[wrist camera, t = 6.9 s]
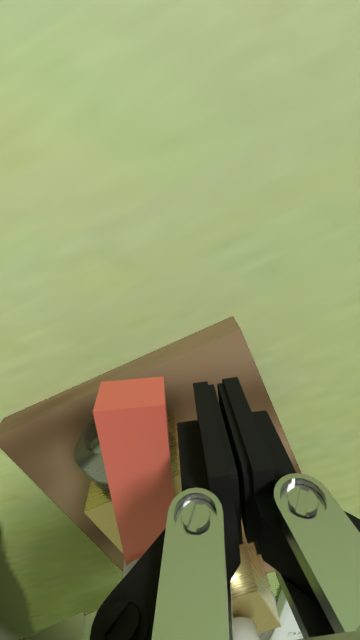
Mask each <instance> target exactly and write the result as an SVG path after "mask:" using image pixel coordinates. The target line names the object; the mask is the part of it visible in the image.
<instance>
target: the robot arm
mask: <svg viewBox="0 0 360 640" xmlns="http://www.w3.org/2000/svg"><path fill="white" fill-rule="evenodd" d="M193 389H194V397H195V404H196V412H197V419H198V420H193V421H186V422H179V423H177V431H178V445H179V459H180V473H181V487H182V492H181V493H179V494H178V495H177V496H176V497H175V498H174V499H173V501H172V502H171V504H170V507H169V510H168V515H167V523H166V528H165V529H164V531H163V532H162V533H161V534H160V535H159V536H158V538H157V539H156V540H155V541H154V542H153V544H152V545H151V546H150V547H149V548H148V550H147V551H146V552H145V553H144V554H143V556H142V557H141V558H140V559H139V560H138V561H137V563H136V564H135V565H134V566H133V567H132V569H131V570H130V571H129V572H128V573H127V575H126V576H125V577H124V578H123V579H122V581H121V582H120V583H119V584H118V585H117V586H116V588H115V589H114V590H113V591H112V592H111V594H110V595H109V596H108V597H107V598H106V600H105V601H104V602H103V604H102V605H101V607H100V608H99V610H97V611H94V612H92V613H90V614H88V615H85V614H84V612H82V613H79V614H77V615H75V616H73V617H70V618H68V619H66V620H63V621H61V622H59V623H56V624H54V625H52V626H50V627H47V628H45V629H43V630H40V631H38V632H36V633H33V634H31V635H29V636H27V637H24V638H22V639H20V640H234V636H233V616H232V597H231V579H232V577H233V576H234V574H235V572H236V570H237V569H238V567H239V565H240V564H241V559H240V547H239V545H240V544H243V538H242V524H243V528H244V533H245V537H246V540H247V543H253V542H254V545H255V549H256V553H257V555H260V554H261V556H262V559H263V561H265V562H266V563H267V564H269V565H270V566H271V567H273V568H274V569H275V572H276V576H277V579H278V581H279V583H280V586H281V588H282V590H283V592H284V595H285V597H286V599H287V602H288V604H289V606H290V608H291V611H292V613H293V615H294V618H295V620H296V622H297V624H298V627H299V629H300V631H301V634H302V636H303V638H304V639H297V640H360V519H358V518H356V517H354V516H353V515H351V514H349V513H347V512H345V511H343V509H342V508H341V507H340V505H339V504H338V503H337V501H336V500H335V499H334V497H333V496H332V495H331V493H330V492H329V490H328V489H327V488H326V487H325V486H324V485H323V484H322V483H321V482H319V481H318V480H316V479H315V478H313V477H311V476H308V475H305V474H298V473H296V471H295V469H294V467H293V465H292V462H291V460H290V458H289V456H288V454H287V452H286V450H285V448H284V446H283V444H282V442H281V439H280V437H279V435H278V433H277V431H276V429H275V427H274V425H273V423H272V421H271V419H270V416H269V414H268V413H267V411H266V410H263V411H256V412H252V411H251V409H250V406H249V404H248V401H247V399H246V397H245V394H244V392H243V389H242V387H241V384H240V382H239V379H238V377H232V378H225V379H222V383H219V384H217V389H218V398H217V395H216V391H215V387H214V384H212V385H208V382H207V381H204V382H197V383H193ZM218 399H219V402H218ZM241 520H242V524H241Z"/></svg>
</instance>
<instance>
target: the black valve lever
mask: <svg viewBox="0 0 360 640" xmlns="http://www.w3.org/2000/svg"><path fill="white" fill-rule="evenodd" d="M233 636H234V640H260V639H259V635H258V630H257V626H256V623H255V621H253V620H252V619H249V618H245V617H236V618H233Z"/></svg>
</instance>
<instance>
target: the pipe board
mask: <svg viewBox="0 0 360 640" xmlns="http://www.w3.org/2000/svg"><path fill="white" fill-rule="evenodd" d="M162 376H164V386H165V397H166V408H167V412H168V411H171V410H173V409H174V411H175V412H176V414H177V416H178V417H179V419H180V421H181V422H186V421H193V420H198V419H197V412H196V404H195V397H194V389H193V383H197V382H204V381H207V382H208V385H212V384H214V387H215V391H216V395H217V398H218V389H217V384H219V383H222V379H225V378H232V377H238V379H239V382H240V384H241V387H242V389H243V392H244V394H245V397H246V399H247V401H248V404H249V406H250V409H251V411H252V412H256V411H263V410H266V411H267V413H268V414H269V416H270V419H271V421H272V423H273V425H274V427H275V429H276V431H277V433H278V435H279V437H280V439H281V442H282V444H283V446H284V448H285V450H286V452H287V454H288V456H289V458H290V460H291V462H292V465H293V467H294V469H295V471H296V473H298V474H301V471H300V469H299V466H298V464H297V462H296V459H295V457H294V455H293V452H292V450H291V448H290V445H289V443H288V440H287V438H286V436H285V433H284V431H283V429H282V426H281V424H280V421H279V419H278V417H277V414H276V412H275V410H274V407H273V405H272V403H271V400H270V398H269V395H268V393H267V391H266V388H265V386H264V384H263V381H262V379H261V376H260V374H259V372H258V369H257V367H256V365H255V362H254V360H253V358H252V355H251V353H250V350H249V348H248V346H247V343H246V341H245V339H244V336H243V334H242V331H241V329H240V327H239V326H238V324H237V322H236V321H235V319H234V317H233V316H232V317H230V318H228V319H226V320H223V321H221V322H219V323H217V324H214V325H212V326H210V327H208V328H205V329H203V330H201V331H199V332H196V333H194V334H192V335H190V336H187V337H185V338H183V339H181V340H179V341H176V342H174V343H172V344H170V345H167V346H165V347H163V348H161V349H158V350H156V351H154V352H152V353H149V354H147V355H145V356H143V357H140V358H138V359H136V360H134V361H131V362H129V363H127V364H125V365H122V366H120V367H118V368H116V369H113V370H111V371H109V372H107V373H104V374H102V375H100V376H98V377H95V378H93V379H91V380H89V381H87V382H84V383H82V384H80V385H78V386H75V387H73V388H71V389H69V390H66V391H64V392H62V393H60V394H57V395H55V396H53V397H51V398H48V399H46V400H44V401H42V402H39V403H37V404H35V405H33V406H30V407H28V408H26V409H24V410H21V411H19V412H17V413H15V414H12V415H10V416H8V417H6V418H4V419H3V420H2V422H1V423H0V448H1V449H2V450H3V451H4V452H5V453H6V454H7V455H8V456H9V457H10V458H11V459H12V460H13V461H14V462H15V463H16V464H17V465H18V466H19V467H20V468H21V469H22V470H23V471H24V472H25V473H26V474H27V475H28V476H29V477H30V478H31V479H32V480H33V481H34V482H35V483H36V484H37V485H38V486H39V487H40V488H41V489H42V490H43V492H44V493H45V494H46V495H47V496H48V497H49V498H50V499H51V500H52V501H53V502H54V503H55V504H56V505H57V506H58V507H59V508H60V509H61V510H62V511H63V512H64V513H65V514H66V515H67V516H68V517H69V518H70V519H71V520H72V521H73V522H74V523H75V524H76V525H77V526H78V527H79V528H80V529H81V530H82V531H83V532H84V533H85V534H86V535H87V536H88V537H89V538H90V539H91V540H92V541H93V542H94V543H95V544H96V545H97V546H98V547H99V548H100V549H101V550H102V551H103V552H104V553H105V554H106V555H107V556H108V557H109V558H110V559H111V560H112V561H113V562H114V563H115V564H116V565H117V566H118V567H119V568H120V569H121V570H122V571H123V568H124V554H123V553H122V552H121V551H120V550H119V549H118V548H117V547H116V546H115V545H114V543H113V542H112V541H111V540H110V539H109V538H108V537H107V536H106V535H105V534H104V533H103V532H102V531H101V530H100V529H99V528H98V527H97V526H96V525H95V523H94V522H93V521H92V520H91V519H90V518H89V517H88V516H87V515H86V514H85V513H84V511H85V506H86V502H87V497H88V492H89V488H90V483H91V480H90V478H89V477H88V476H87V475H86V474H85V473H84V472H83V470H82V469H81V468H80V467H79V466H78V465H77V463H76V461H75V455H74V453H75V447H76V444H77V441H78V439H79V437H80V435H81V434H82V432H83V431H84V429H85V428H86V426H87V425H88V424H89V423H90V422H91V421H92V420H93V419H94V415H93V409H94V405H95V402H96V398H97V394H98V391H99V387H100V384H101V382H106V381H117V380H128V379H140V378H151V377H162ZM218 402H219V399H218ZM241 521H242V520H241ZM261 557H262V556H261ZM262 560H263V559H262ZM263 564H264V567H265V571H266V574H267V573H270V572H273V571H275V569H274V568H273V567H271V566H270V565H269V564H267V563H266V562H265V561H263Z"/></svg>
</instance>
